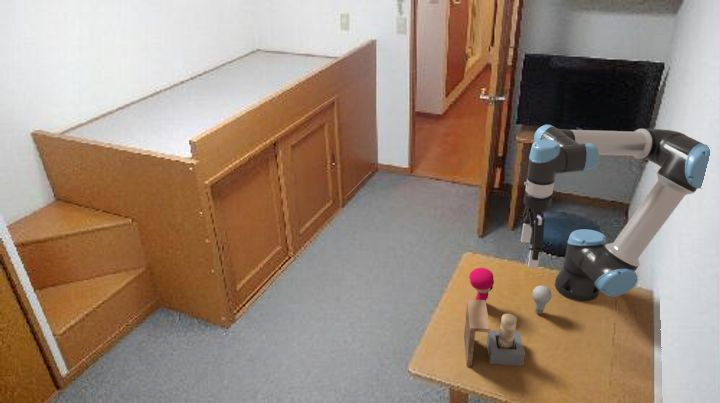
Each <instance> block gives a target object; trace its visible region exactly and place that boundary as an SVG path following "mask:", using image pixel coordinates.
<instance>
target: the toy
mask: <svg viewBox="0 0 720 403" xmlns="http://www.w3.org/2000/svg"><path fill="white" fill-rule="evenodd" d="M469 284H470V285H471V287H472V288H474V289H475V290H476V296H475V299H474V300H485V301H486V302H487V300H488V298H489V292H490V291H492V290H493V287H494V284H495V280H494V273H493V271H491V270H490V269H488V268H486V267H477V268H476V267H475V269H473V270H471V272H470V273H469Z"/></svg>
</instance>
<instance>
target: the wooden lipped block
mask: <svg viewBox="0 0 720 403" xmlns="http://www.w3.org/2000/svg"><path fill="white" fill-rule="evenodd" d="M488 315H489V314H488V307H487V300H486V301H485V300H475V299H470V298H469V299H467V301H466V313H465V322H464V333H463V339H464V340H463V342H464V351H465V362H466V367H472V366H473V358H474V348H475V347H474V346H475V339H476V333H477V332H480V333H488V332H489V331H491V330H490V329H491V328H490V321H489V316H488Z"/></svg>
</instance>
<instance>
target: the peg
mask: <svg viewBox="0 0 720 403" xmlns="http://www.w3.org/2000/svg"><path fill="white" fill-rule="evenodd" d="M517 321H518V319H517V316H515V315H513V314H512V313H504V314H503V315H502V316H501V321H500V327H499V331H500V333H499V341H498V346H497V348H499V349H513V341H514V335H515V332H516V329H517V328H516V327H517Z"/></svg>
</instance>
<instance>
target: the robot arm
mask: <svg viewBox="0 0 720 403" xmlns="http://www.w3.org/2000/svg"><path fill="white" fill-rule="evenodd" d="M533 141H534V142H533V143H532V144H531V148H530V153H529V157H528V159H529V160H528V167H527V175H526V181H524V182H523V183H524V184H523V185H524V186H525V189H524V190H525V191H524V197H523V204H524V205H525V207H524V210H523V214H522V218H523V219H522V220H523V221H522V222H523V224H522V231H521V237H520V242H521V243H530V244H531V247H529V256H528V264H527V268H529V269H531V268H533V269H534V268H535V269H537V268H539V262H540V256H541V253H543V252H544V236H545V235H544V233H545V222H546V219H545V217H544V212H543V211H545V210H548V209H549V208H550V207H551V203H552V198H553V196H552V195H553V193H554V187H555V179H556V175H557V174H565V173H577V172H584V171H588V170H593V169H594V168H596V167H597V166H598V164H599V160H600V156H629V157H630V156H632V157H633V158H635V159H636V160H645V161H649V162H652V163H654V164H655V165H657V166H659V167H660V168H659V169H658V170H657V173H656V175H657V180H656V183H655V184H654V185H653V187H652V188H651V189H650V191H649V192H648V194H647V195H646V196H645V198H644V200H642V202H641V204H640V205H639V206H638V208H637V209H636V211H635V212H634V213H633V215H632V216H631V218H630V219H629V220H628V222H627V223H626V224H625V225H624V227H623V229H622V230H621V231H620V233H619V234H618V235H617V237H616V238H615V239H614V241H613V242H610V243H607V238H606V235H605V234H604V233H602V232H600V231H598V230H593V229H583V228H582V229H581V228H580V229H576V230H573V231H572V232H570V234H569V236H568V240H567V244H566V249H565V256H564V262H563V266H562V268H561V269H560V271H559V272H558V274H557V275H556V277H555V281H554V287H555V289H556V291H557V292H558V293H559V294H561V295H562V296H564V297H565V298H567V299H569V300H570V299H571V300H573V301H578V302H589V301H592V300H595V299H597V297H599V295H600V292H601V293H602V294H604V296H608V297H619V296H622V295H625V294H627V293H629V292H630V291H631V290H633V288H634V287H635V286H636V284H637V283H638V275H637V272H636V271H637V269H638V267H640V261H639V258H640V256H641V255H642V254H643V252H644V251H645V250H646V249H647V247H648V246H649V245H650V243H651V242H652V240H653V239H654V238H655V236H656V235H657V234H658V232H659V231H660V230H661V228H662V227H663V226H664V224H665V223H666V221H667V220H668V219H669V218H670V216H671V215H672V214H673V212H674V211H675V210H676V208H677V207H678V206H679V205H680V203H681V202H682V200H683V199H684V198H685V196H686V195H691V194H694V193H695V192H696V191H697V190H698V189H702V188H701V186H702V183H703V180H704V176H705V172H706V168H707V164H708V161H709V156H710V149H709V147H710V146H709V145H708V144H706V143H705V144H704V143H703V142H701V141H698V140H696V139H695V138H693V137H690V136H688V135H686V134H685V133H682V132H680V131H676V130H670V129H661V128H659V129H658V128H638V129H636V130H634V131H628V130H627V131H623V130H620V131H619V130H591V129H590V130H589V129H588V130H587V129H581V130H580V129H565V128H564V129H562V128H561V129H560V128H557V127H556V126H554V125H551V124H544V125H542V126H540V127H539V128H537V130H536V131H535V132H534V136H533ZM708 146H709V147H708Z"/></svg>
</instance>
